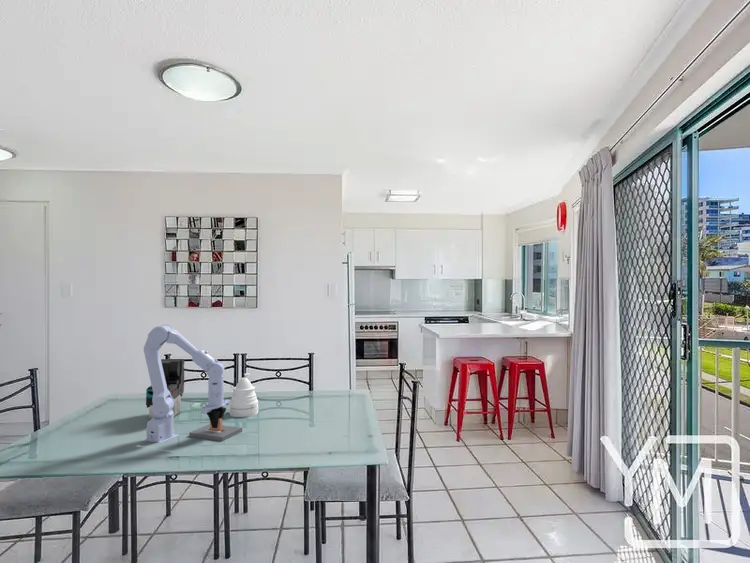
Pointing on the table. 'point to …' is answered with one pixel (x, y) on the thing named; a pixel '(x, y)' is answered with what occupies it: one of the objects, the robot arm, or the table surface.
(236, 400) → the honey pot
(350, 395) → the table surface
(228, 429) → the gray slotted plate
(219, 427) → the upright peach slab
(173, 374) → the bill acceptor
